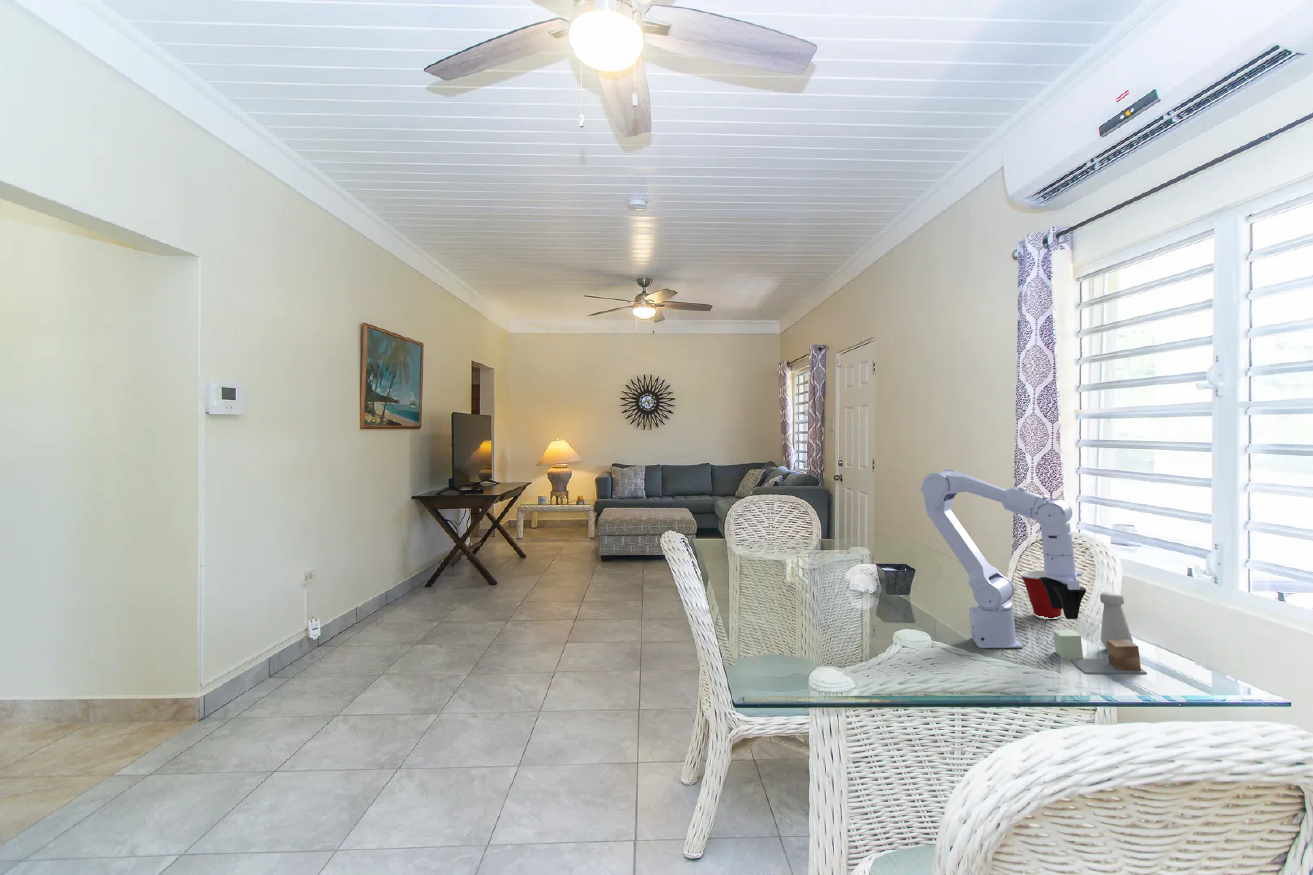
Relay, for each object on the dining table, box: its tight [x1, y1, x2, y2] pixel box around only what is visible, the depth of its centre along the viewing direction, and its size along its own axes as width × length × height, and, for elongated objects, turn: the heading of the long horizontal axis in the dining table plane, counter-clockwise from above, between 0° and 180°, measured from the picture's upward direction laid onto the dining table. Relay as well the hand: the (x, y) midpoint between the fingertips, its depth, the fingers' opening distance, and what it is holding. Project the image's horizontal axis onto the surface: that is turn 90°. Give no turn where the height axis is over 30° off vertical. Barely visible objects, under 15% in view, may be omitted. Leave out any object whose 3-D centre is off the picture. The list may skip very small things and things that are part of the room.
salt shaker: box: [1099, 591, 1134, 651], centre depth 133 cm, size 6×6×13 cm
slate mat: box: [1069, 658, 1148, 675], centre depth 125 cm, size 11×8×1 cm
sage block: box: [1053, 629, 1084, 659], centre depth 133 cm, size 4×4×5 cm
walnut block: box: [1107, 640, 1142, 671], centre depth 124 cm, size 4×4×5 cm
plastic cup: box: [1019, 570, 1062, 618], centre depth 159 cm, size 11×11×12 cm
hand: (1064, 613), depth 133 cm, fingers open, 7 cm apart
